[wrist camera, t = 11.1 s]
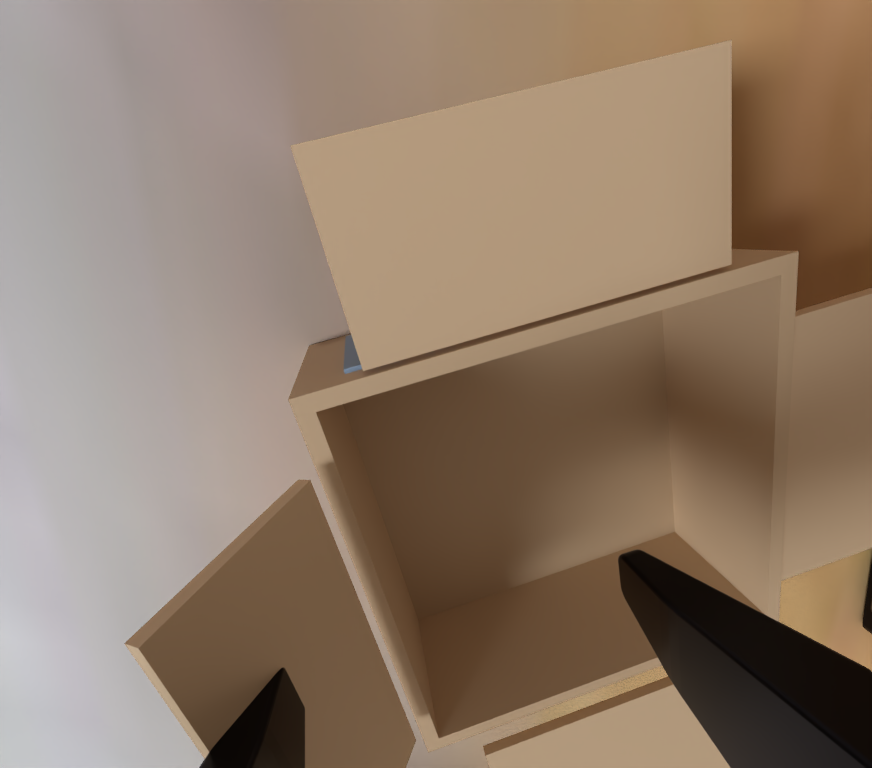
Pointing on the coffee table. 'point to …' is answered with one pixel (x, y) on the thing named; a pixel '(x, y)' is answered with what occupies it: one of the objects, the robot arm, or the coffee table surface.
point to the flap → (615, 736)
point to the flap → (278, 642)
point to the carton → (568, 384)
